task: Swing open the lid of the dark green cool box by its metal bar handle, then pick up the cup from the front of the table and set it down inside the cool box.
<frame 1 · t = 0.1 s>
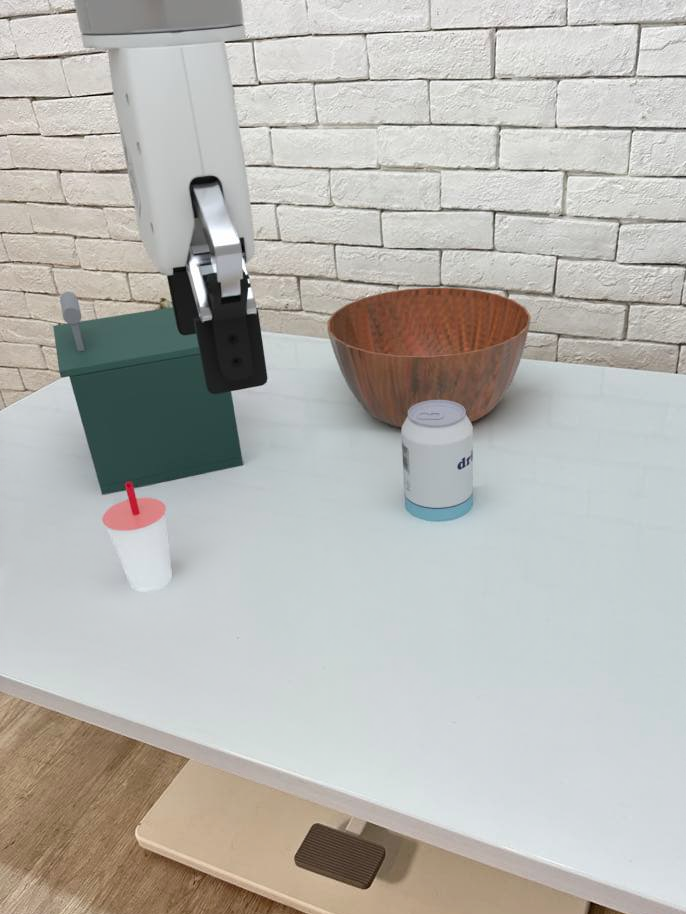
hand: (219, 357, 49), 29 cm above the table, tool pointing down, fingers open, 9 cm apart
cooler: (164, 451, 103), on the table
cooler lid: (130, 316, 94), point 17 cm above the table, hinge at 0.0°
bowl: (430, 406, 111), on the table
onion: (177, 346, 133), on the table
beverage can: (439, 520, 88), on the table
cup: (155, 596, 79), on the table
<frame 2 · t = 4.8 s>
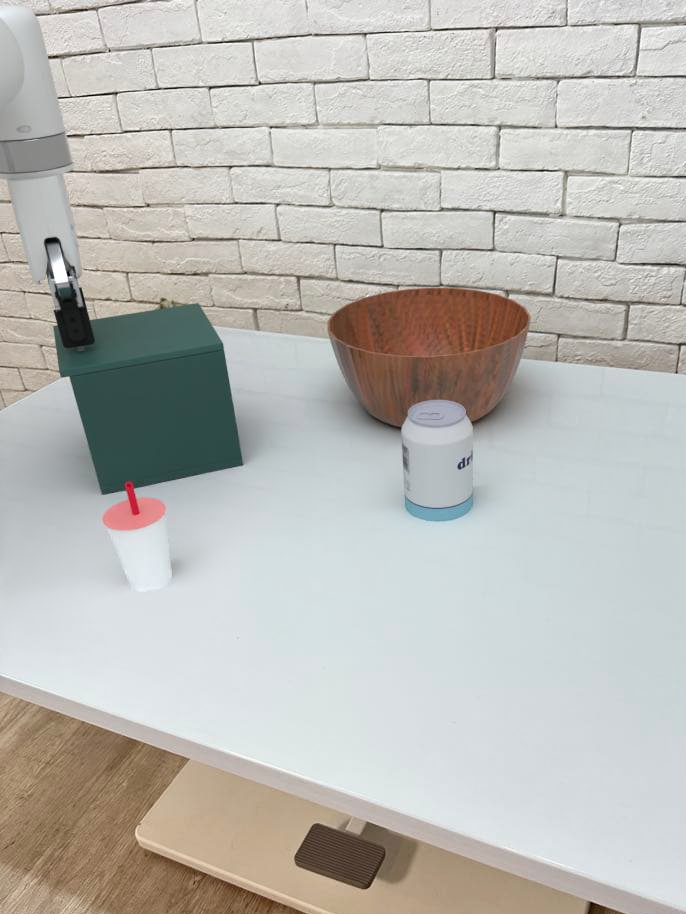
hand: (77, 333, 92), 16 cm above the table, tool pointing down, fingers closed on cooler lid, 6 cm apart
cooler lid: (130, 316, 94), point 17 cm above the table, hinge at 0.0°, touching gripper
everything else where it was.
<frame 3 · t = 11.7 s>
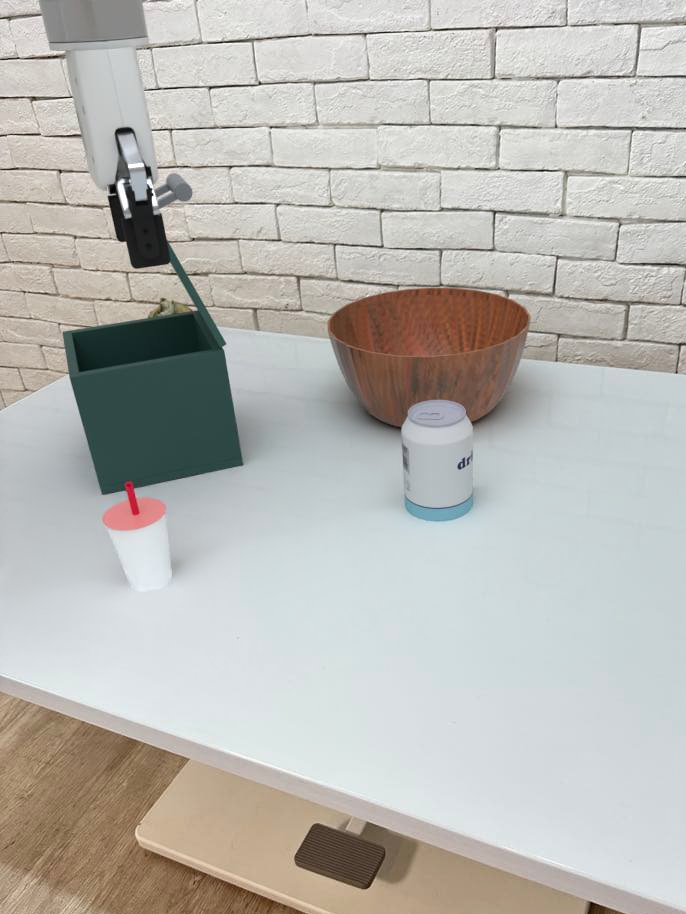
hand: (143, 251, 75), 27 cm above the table, tool pointing down, fingers open, 9 cm apart
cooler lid: (191, 247, 92), point 23 cm above the table, hinge at 70.2°
everything else where it was.
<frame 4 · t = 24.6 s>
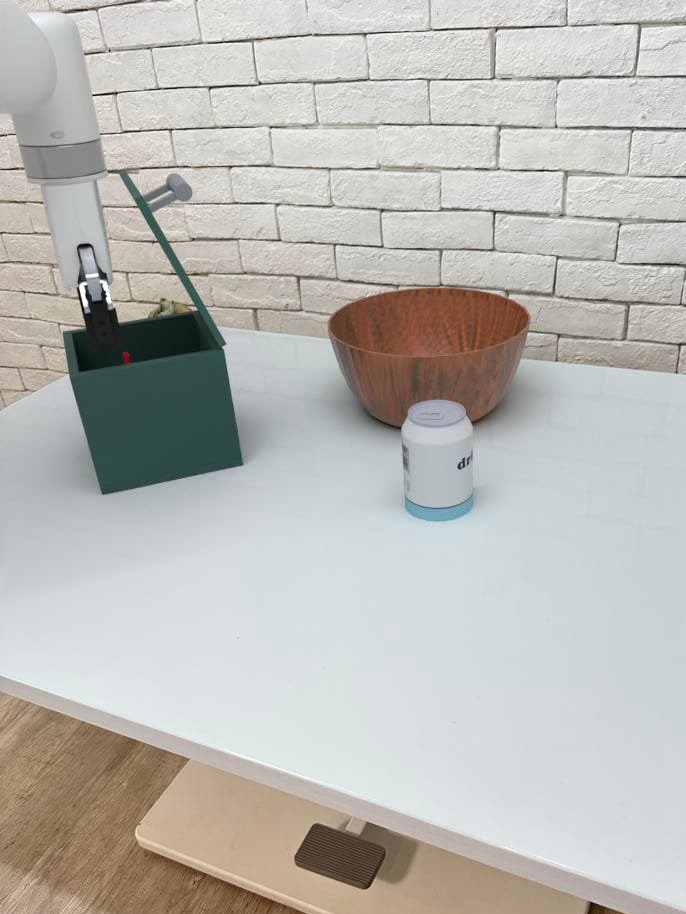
hand: (103, 334, 91), 16 cm above the table, tool pointing down, fingers open, 9 cm apart
cup: (146, 449, 102), point 1 cm above the table, touching cooler
everything else where it was.
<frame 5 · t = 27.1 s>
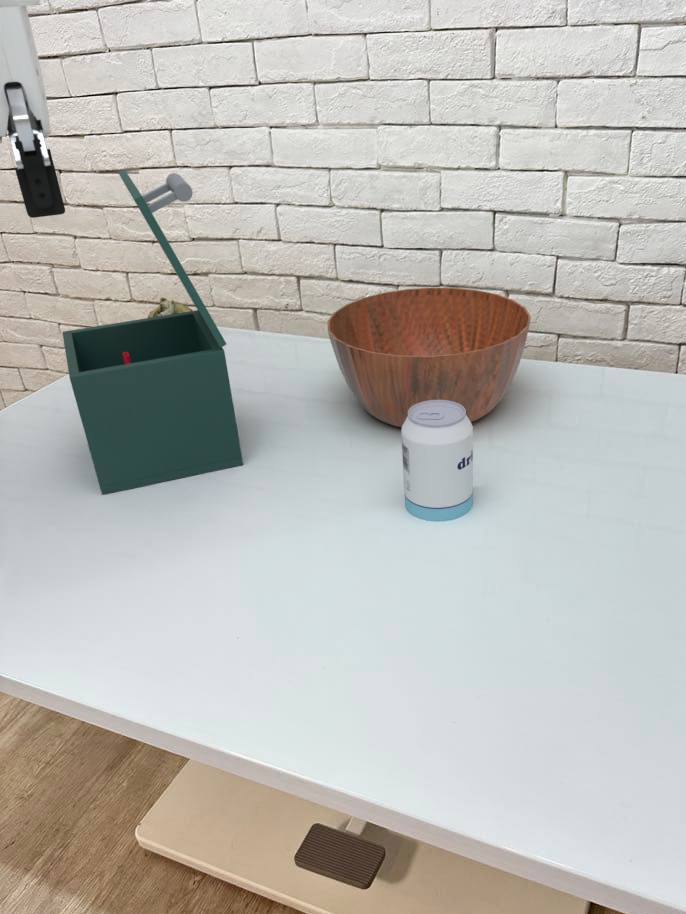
hand: (45, 204, 80), 30 cm above the table, tool pointing down, fingers open, 9 cm apart
nothing on the table moved.
at the end: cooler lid at +70° (first picture: +0°); cup inside the target area in the cooler (2.0 cm from its centre), point 0.8 cm above the cooler's base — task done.
